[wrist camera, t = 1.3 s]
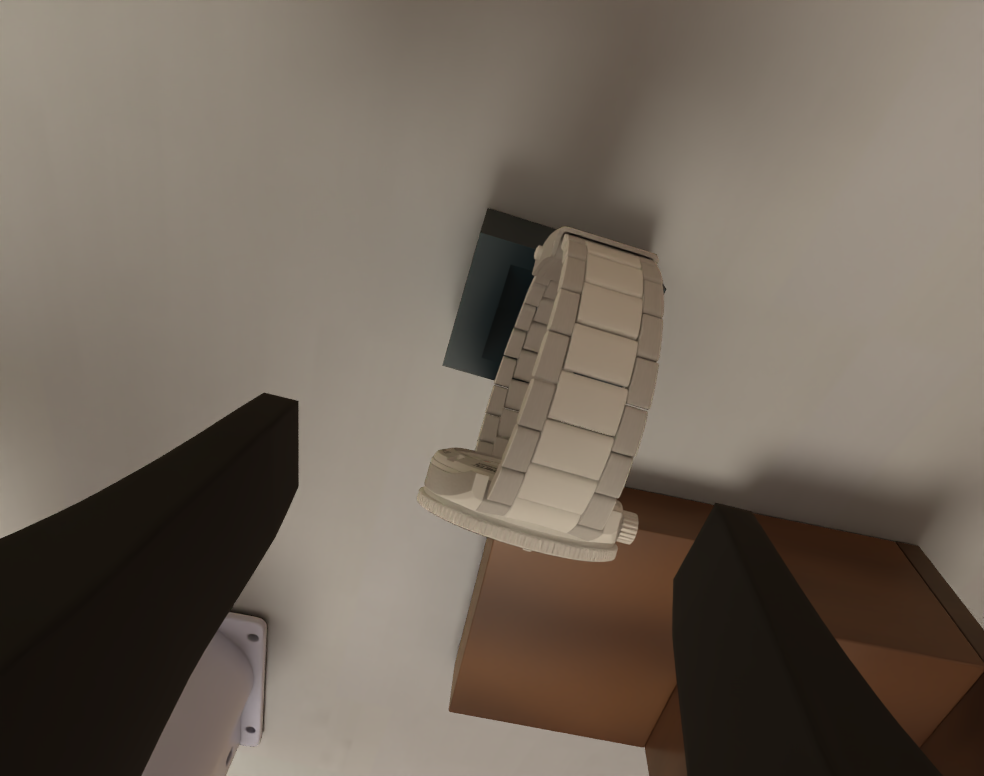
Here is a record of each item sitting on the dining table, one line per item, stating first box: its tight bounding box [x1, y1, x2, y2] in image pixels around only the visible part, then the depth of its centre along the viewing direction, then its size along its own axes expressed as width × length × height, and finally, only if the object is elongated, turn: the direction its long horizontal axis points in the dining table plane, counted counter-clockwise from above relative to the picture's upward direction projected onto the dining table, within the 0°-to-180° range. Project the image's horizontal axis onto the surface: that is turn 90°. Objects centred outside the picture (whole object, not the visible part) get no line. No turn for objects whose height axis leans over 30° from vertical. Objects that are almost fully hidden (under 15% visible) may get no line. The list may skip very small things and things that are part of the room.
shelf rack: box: [449, 487, 984, 776], centre depth 24 cm, size 12×17×10 cm
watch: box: [417, 208, 666, 562], centre depth 17 cm, size 6×8×11 cm
